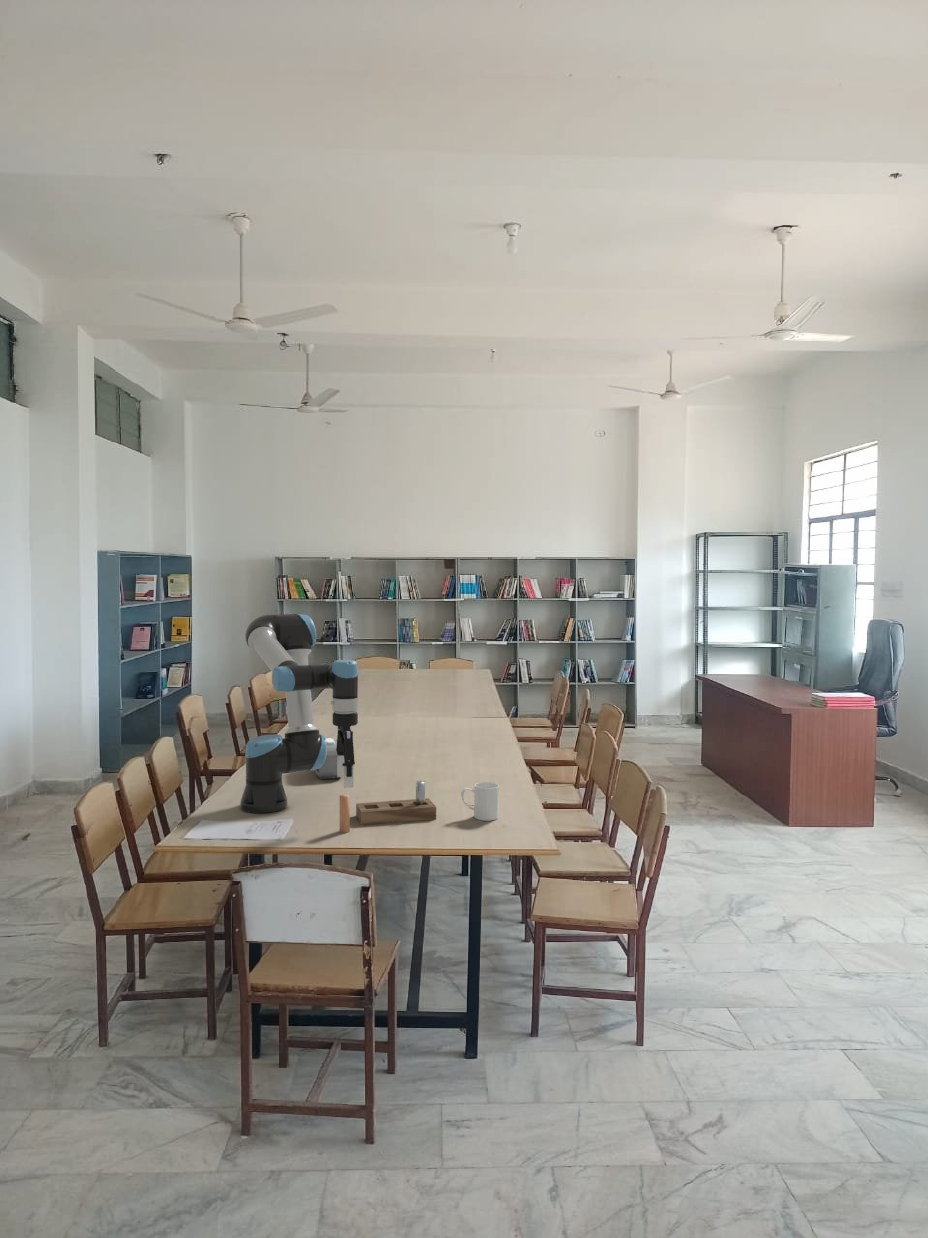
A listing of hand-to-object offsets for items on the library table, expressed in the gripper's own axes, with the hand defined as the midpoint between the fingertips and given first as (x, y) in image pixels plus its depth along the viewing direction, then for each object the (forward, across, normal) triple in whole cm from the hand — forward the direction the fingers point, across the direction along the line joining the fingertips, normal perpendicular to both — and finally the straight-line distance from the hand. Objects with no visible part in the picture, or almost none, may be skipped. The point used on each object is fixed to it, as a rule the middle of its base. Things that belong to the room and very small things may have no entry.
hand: (345, 781), depth 248 cm
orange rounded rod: (+15, 0, 0) cm, 15 cm away
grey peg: (+15, -10, +26) cm, 32 cm away
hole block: (+15, -10, +18) cm, 26 cm away
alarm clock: (+15, -70, +4) cm, 72 cm away
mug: (+16, -4, +44) cm, 47 cm away
